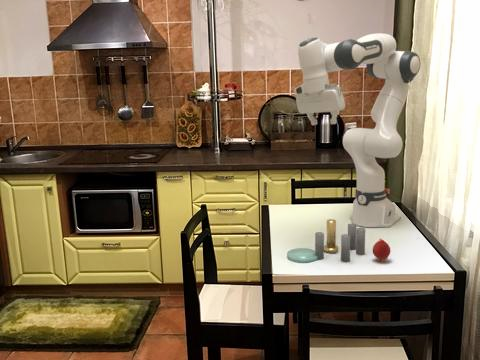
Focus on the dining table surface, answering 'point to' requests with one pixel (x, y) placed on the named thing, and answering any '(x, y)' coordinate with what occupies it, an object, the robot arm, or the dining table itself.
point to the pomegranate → (381, 250)
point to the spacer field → (343, 243)
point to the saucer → (302, 255)
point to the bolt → (331, 237)
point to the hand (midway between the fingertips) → (324, 124)
